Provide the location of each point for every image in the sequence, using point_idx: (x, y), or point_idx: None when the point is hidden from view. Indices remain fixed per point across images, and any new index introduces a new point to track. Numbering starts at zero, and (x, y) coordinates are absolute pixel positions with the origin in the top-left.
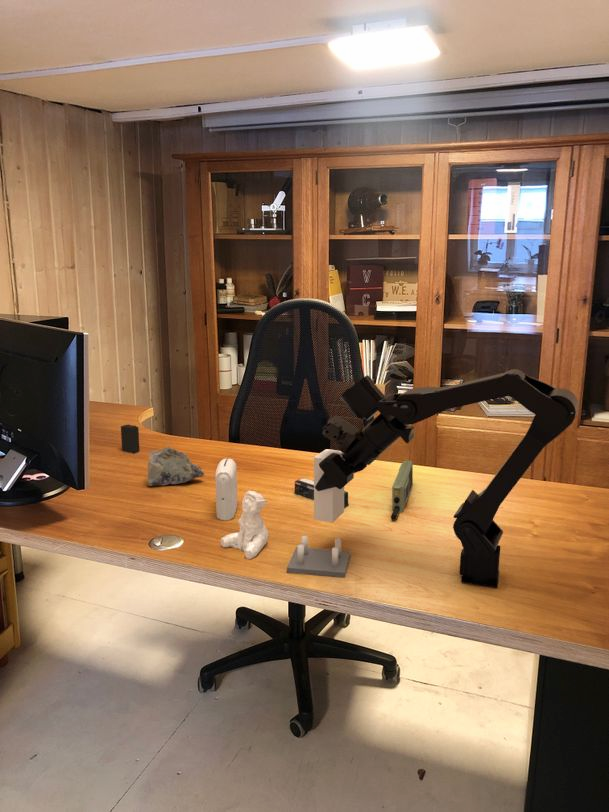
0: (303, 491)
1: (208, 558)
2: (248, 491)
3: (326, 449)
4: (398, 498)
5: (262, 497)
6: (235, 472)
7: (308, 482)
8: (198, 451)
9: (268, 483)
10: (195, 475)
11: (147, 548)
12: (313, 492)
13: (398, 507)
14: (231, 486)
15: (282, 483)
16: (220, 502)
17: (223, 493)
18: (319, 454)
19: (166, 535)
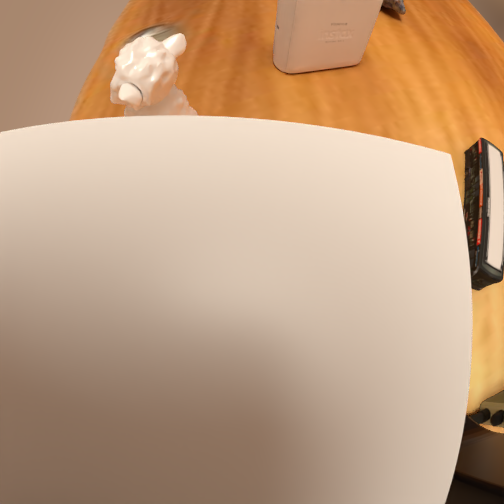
0: (472, 166)
1: (99, 112)
2: (137, 38)
3: (432, 162)
4: (501, 422)
5: (150, 79)
6: (349, 1)
7: (492, 166)
8: (465, 18)
9: (465, 100)
10: (388, 3)
11: (127, 36)
12: (475, 190)
13: (484, 421)
14: (295, 13)
15: (481, 122)
16: (276, 31)
17: (279, 17)
18: (46, 142)
19: (177, 30)
